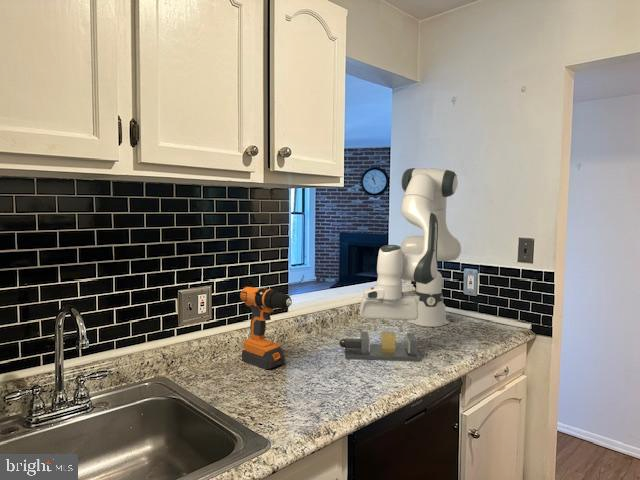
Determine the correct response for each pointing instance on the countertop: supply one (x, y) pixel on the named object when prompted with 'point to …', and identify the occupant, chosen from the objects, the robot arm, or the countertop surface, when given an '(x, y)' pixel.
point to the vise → (376, 353)
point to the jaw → (358, 343)
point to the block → (388, 342)
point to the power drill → (262, 326)
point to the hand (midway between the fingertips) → (387, 330)
